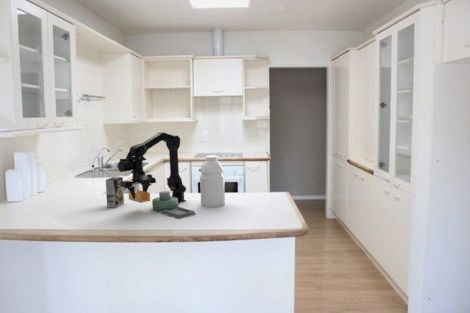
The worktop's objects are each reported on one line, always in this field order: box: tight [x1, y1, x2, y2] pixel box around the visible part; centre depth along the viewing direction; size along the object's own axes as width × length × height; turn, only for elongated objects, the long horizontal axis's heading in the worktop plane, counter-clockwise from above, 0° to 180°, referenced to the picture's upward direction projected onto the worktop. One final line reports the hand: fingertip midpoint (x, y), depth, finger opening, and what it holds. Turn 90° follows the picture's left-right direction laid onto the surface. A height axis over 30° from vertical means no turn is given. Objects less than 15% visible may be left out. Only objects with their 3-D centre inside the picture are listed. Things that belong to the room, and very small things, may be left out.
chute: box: [128, 189, 151, 204], centre depth 209 cm, size 12×6×4 cm, turn 44°
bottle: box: [199, 155, 226, 208], centre depth 220 cm, size 14×14×28 cm
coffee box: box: [105, 176, 125, 209], centre depth 223 cm, size 9×6×16 cm
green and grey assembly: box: [151, 190, 196, 220], centre depth 210 cm, size 14×30×9 cm, turn 44°
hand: (139, 197), depth 209 cm, fingers closed on chute, 6 cm apart
